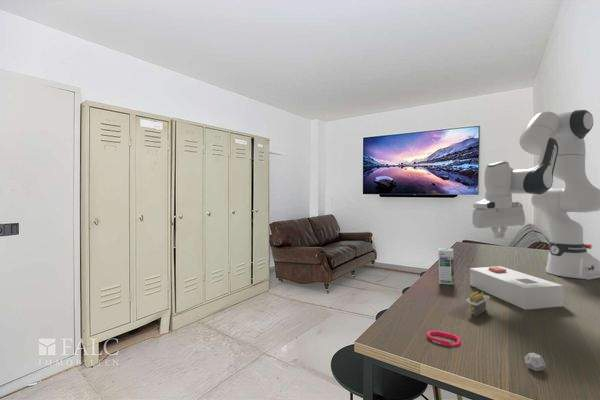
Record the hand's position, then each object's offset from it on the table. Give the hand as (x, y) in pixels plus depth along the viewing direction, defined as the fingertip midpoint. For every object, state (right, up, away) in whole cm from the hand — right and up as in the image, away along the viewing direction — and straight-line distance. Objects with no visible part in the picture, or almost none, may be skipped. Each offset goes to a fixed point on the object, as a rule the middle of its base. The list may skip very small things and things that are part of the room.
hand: (499, 237), depth 116 cm
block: (0, -20, -7) cm, 21 cm away
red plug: (-1, -18, 0) cm, 18 cm away
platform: (-22, -22, -21) cm, 38 cm away
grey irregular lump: (-27, -23, -51) cm, 62 cm away
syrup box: (-16, -21, +9) cm, 28 cm away
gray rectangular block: (+1, -19, -13) cm, 23 cm away
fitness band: (-41, -23, -38) cm, 60 cm away
